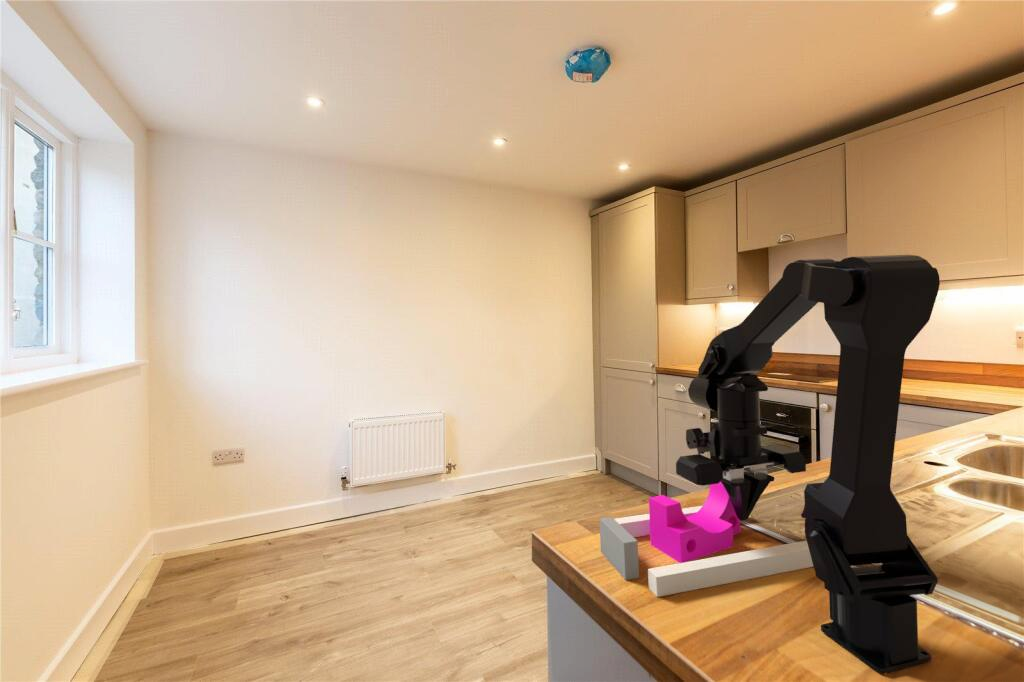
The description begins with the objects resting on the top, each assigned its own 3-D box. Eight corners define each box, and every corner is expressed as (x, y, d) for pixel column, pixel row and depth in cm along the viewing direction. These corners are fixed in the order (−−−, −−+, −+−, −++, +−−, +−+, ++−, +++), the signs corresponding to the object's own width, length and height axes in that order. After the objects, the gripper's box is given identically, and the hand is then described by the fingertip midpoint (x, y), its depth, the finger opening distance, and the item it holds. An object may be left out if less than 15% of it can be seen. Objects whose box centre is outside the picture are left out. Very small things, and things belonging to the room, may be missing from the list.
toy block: (681, 565, 62) (679, 512, 62) (650, 546, 68) (648, 498, 68) (754, 540, 68) (753, 492, 68) (721, 524, 74) (719, 480, 74)
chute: (825, 564, 60) (824, 528, 60) (642, 599, 54) (640, 560, 54) (736, 514, 77) (735, 486, 77) (589, 537, 71) (587, 507, 71)
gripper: (751, 404, 77) (754, 493, 77) (654, 414, 73) (658, 507, 73) (807, 416, 66) (810, 519, 66) (697, 428, 62) (701, 537, 62)
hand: (742, 519), depth 67 cm, fingers closed
